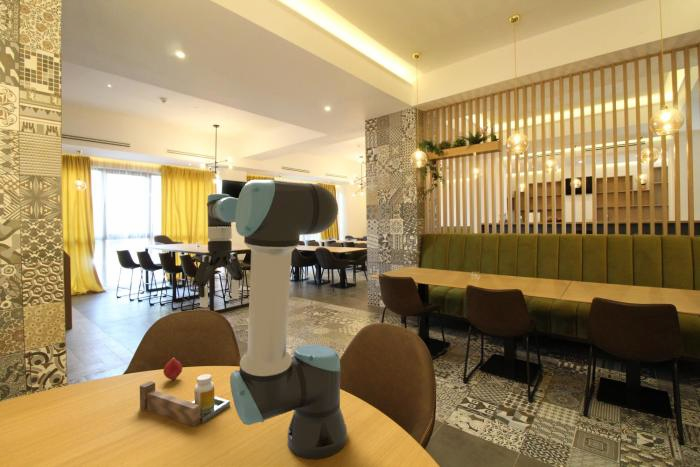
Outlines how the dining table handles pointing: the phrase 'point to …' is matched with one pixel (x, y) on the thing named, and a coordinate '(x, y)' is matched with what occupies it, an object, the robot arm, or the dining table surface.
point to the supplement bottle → (204, 393)
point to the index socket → (219, 406)
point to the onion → (172, 369)
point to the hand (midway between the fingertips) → (220, 302)
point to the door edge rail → (168, 405)
